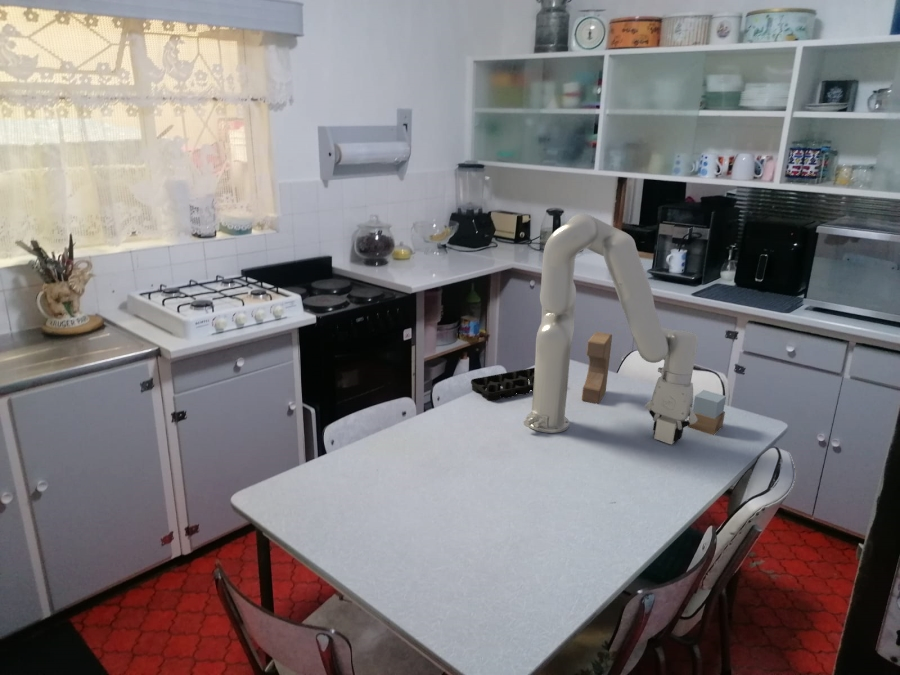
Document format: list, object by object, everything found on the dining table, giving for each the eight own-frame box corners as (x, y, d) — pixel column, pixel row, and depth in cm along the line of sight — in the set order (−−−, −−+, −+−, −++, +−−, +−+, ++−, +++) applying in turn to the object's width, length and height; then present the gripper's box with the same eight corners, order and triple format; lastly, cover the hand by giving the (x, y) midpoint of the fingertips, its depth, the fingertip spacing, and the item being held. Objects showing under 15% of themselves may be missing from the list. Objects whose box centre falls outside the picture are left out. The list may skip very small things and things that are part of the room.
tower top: (714, 418, 184) (717, 402, 183) (692, 411, 188) (695, 396, 187) (723, 412, 189) (726, 396, 187) (701, 405, 193) (703, 389, 191)
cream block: (671, 444, 178) (674, 424, 176) (654, 438, 181) (657, 419, 179) (678, 438, 182) (682, 419, 180) (661, 432, 185) (664, 413, 183)
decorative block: (598, 404, 203) (605, 343, 197) (580, 400, 205) (586, 340, 199) (606, 392, 213) (613, 334, 207) (589, 389, 215) (595, 331, 209)
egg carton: (565, 387, 217) (566, 376, 216) (502, 409, 198) (503, 398, 197) (526, 371, 230) (527, 361, 228) (463, 391, 211) (464, 380, 209)
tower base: (713, 435, 185) (716, 419, 184) (687, 427, 190) (690, 412, 188) (722, 427, 191) (725, 411, 189) (696, 419, 195) (699, 404, 194)
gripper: (641, 371, 178) (632, 431, 184) (703, 388, 168) (691, 452, 173) (652, 364, 183) (643, 423, 189) (713, 381, 173) (701, 442, 179)
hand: (666, 436), depth 181 cm, fingers closed on cream block, 5 cm apart
